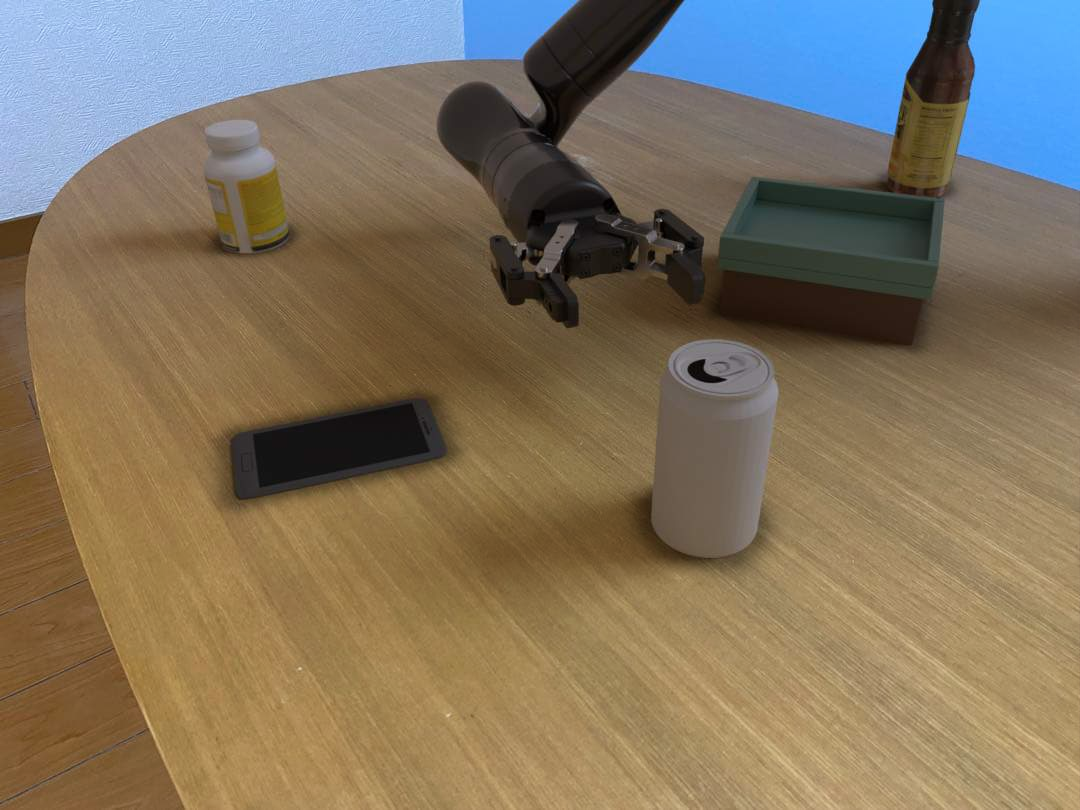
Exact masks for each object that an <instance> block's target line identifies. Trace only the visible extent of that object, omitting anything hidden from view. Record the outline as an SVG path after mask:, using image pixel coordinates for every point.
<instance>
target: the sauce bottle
mask: <svg viewBox="0 0 1080 810" xmlns="http://www.w3.org/2000/svg"><path fill="white" fill-rule="evenodd" d="M980 2H981V0H932V3H931V4H932V5H931V6H932V13H931V18H930V23H929V26H928V31H927V33H926V37H925V40H924V41H923V43H922V45H921V47H920V49H919V51H918V53H917V55H916V56H915V58H914V59H913V61H912V63H911V64H910V66H909V68H908V70H907V71H906V73H905V78H904V85H903V89H902V93H901V99H900V104H899V107H898V109H899V110H898V114H897V119H896V125H895V130H894V135H893V140H892V146H891V150H890V156H889V161H888V166H887V176H888V177H887V180H886V181H887V182H886V183H887V188H888V191H890V193H899V194H907V195H916V196H925V197H933V198H940V197H942V196H944V195H945V194H946V193H947V191H948V186H949V182H950V179H951V178H952V175H953V170H954V166H955V163H956V159H957V154H958V151H959V150H958V149H959V146H960V141H961V137H962V133H963V128H964V125H965V124H964V123H965V119H966V116H967V111H968V107H969V103H970V99H971V89H972V85H973V80H974V77H975V74H976V73H975V72H976V63H975V62H976V61H975V58H974V56H973V53H972V50H971V48H970V45H969V41H970V39H971V37H972V33H971V31H972V28H973V23H974V19H975V14H976V13H977V11H978V9H979V5H980Z"/></svg>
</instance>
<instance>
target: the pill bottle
mask: <svg viewBox="0 0 1080 810" xmlns="http://www.w3.org/2000/svg"><path fill="white" fill-rule="evenodd" d="M204 136H205V142H206V145H207V147H208V148H209V149H210V150H211V153H210V154H209V155H207V157H206V158H205V160H204V162H203V167H202V170H203V176H204V180H205V183H206V187H207V191H208V195H209V199H210V202H211V206H212V211H213V214H214V218H215V223H216V227H217V230H218V234H219V235H218V236H219V239H220V242H221V246H222V248H224V249H225V250H227V251H229V252H233V253H237V254H254V253H255V254H256V253H262V252H266V251H271V250H273V249H276V248H278V247H281V245H283V244H285V243H286V242H287V241H288V240H289V238H290V230H289V224H288V220H287V214H286V209H285V205H284V199H283V195H282V190H281V185H280V179H279V175H278V170H277V165H276V161H275V158H274V156H273V154H272V153H271V152H270V151H269V150H268V149H266V148H264V147H261V146H260V145H259V142H260V141H261V135H260V131H259V127H258V124H257V123H256V122H255V121H253V120H248V119H230V120H224V121H223V120H222V121H219V122H215V123H213V124H210V125H208V126H207V127H206V128H205V129H204Z"/></svg>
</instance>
